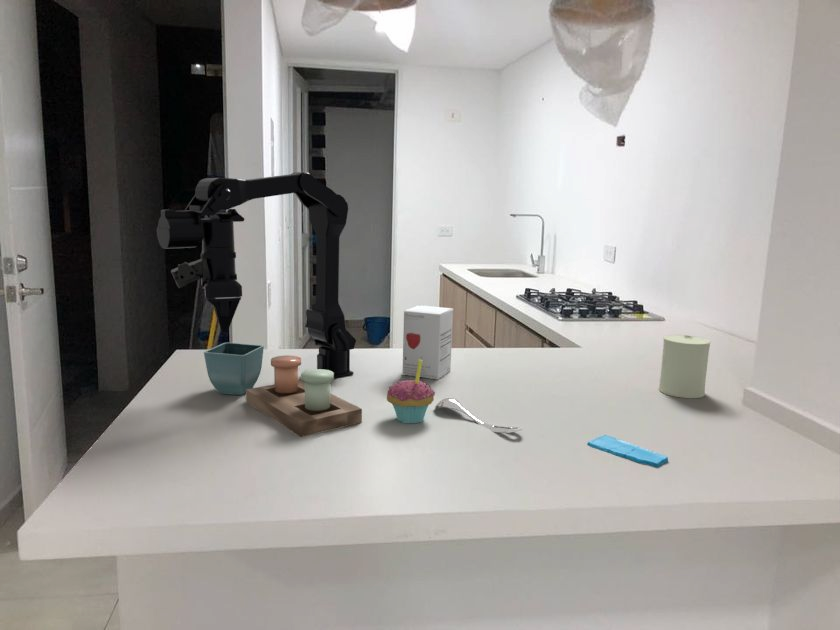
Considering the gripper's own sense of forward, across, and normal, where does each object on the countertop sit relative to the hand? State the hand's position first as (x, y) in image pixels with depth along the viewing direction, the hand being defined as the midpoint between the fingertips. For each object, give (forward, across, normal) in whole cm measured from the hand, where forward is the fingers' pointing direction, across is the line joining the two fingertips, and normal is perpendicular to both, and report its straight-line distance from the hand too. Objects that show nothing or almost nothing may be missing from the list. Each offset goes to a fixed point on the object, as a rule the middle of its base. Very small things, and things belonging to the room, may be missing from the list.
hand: (222, 327), depth 117 cm
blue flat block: (+15, +48, +58) cm, 76 cm away
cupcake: (+14, +23, +30) cm, 40 cm away
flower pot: (+14, -3, +2) cm, 15 cm away
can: (+15, +25, +91) cm, 96 cm away
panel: (+14, +13, +12) cm, 23 cm away
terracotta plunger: (+11, +7, +11) cm, 17 cm away
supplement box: (+15, -4, +45) cm, 47 cm away
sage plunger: (+11, +19, +14) cm, 26 cm away
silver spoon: (+15, +28, +41) cm, 52 cm away
